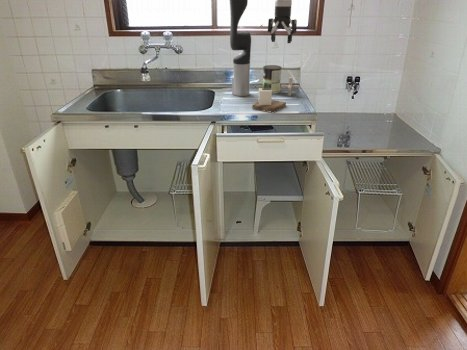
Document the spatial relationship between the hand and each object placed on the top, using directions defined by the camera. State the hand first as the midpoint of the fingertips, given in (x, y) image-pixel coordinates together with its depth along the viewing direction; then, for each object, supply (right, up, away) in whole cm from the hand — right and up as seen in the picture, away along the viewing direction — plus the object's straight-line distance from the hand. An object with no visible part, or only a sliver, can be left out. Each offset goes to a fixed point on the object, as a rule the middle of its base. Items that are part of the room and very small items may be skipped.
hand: (281, 42), depth 167 cm
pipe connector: (+8, -20, +28) cm, 35 cm away
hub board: (-5, -30, +8) cm, 31 cm away
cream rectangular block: (-7, -28, +7) cm, 30 cm away
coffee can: (-1, -15, +36) cm, 39 cm away
